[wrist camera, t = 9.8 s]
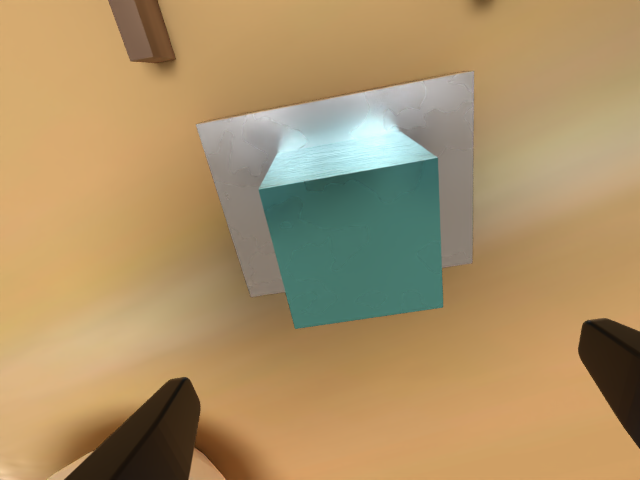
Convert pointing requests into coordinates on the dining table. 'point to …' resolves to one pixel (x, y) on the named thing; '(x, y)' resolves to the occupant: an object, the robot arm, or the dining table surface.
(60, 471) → the white vase
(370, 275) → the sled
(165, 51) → the walnut channel
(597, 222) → the dining table surface
